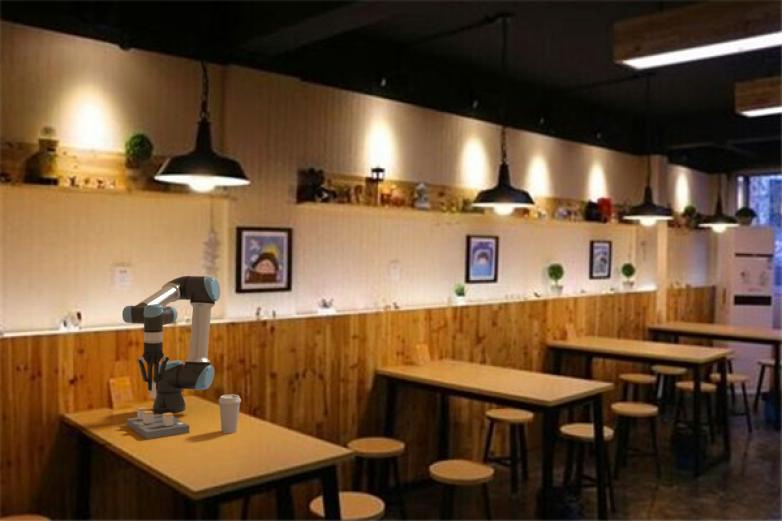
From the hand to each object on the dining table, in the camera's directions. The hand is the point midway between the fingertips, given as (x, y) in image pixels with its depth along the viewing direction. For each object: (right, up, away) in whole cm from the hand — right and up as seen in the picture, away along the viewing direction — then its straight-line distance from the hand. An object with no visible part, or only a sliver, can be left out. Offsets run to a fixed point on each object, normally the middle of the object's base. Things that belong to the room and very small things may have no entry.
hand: (152, 397), depth 287 cm
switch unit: (-1, -15, +10) cm, 18 cm away
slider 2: (+5, -12, +4) cm, 14 cm away
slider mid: (-4, -12, +7) cm, 15 cm away
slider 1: (-9, -12, +13) cm, 20 cm away
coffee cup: (+30, -16, +9) cm, 35 cm away
